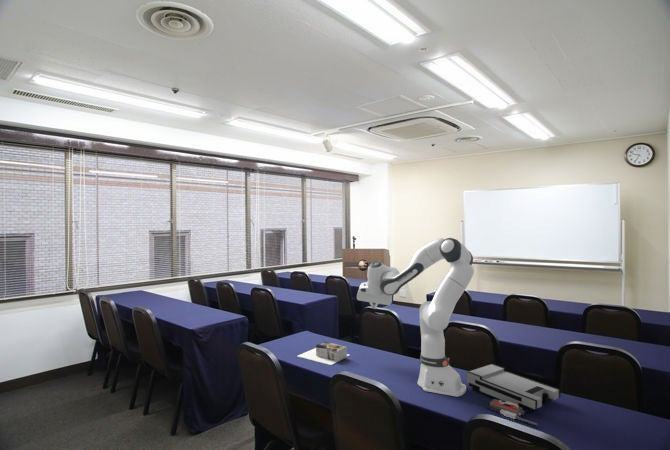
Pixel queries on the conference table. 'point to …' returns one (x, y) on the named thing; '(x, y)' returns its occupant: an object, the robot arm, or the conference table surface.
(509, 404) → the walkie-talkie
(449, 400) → the conference table surface
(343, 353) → the coffee box
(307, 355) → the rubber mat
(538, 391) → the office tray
